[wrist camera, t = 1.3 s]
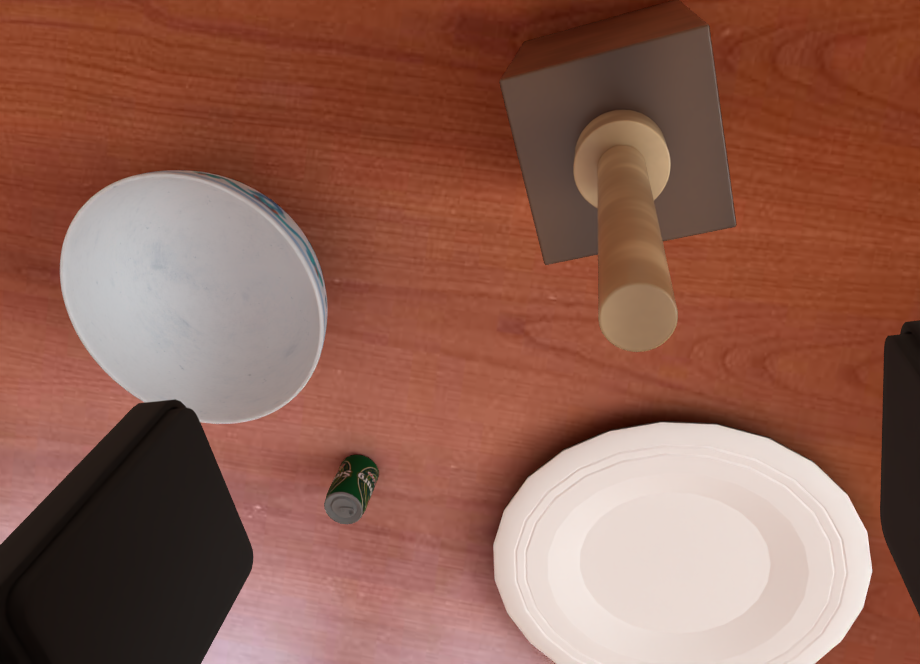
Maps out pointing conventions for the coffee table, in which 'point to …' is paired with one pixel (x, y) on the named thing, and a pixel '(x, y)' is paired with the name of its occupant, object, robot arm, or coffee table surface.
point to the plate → (681, 551)
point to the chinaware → (195, 293)
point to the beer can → (351, 489)
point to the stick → (628, 226)
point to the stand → (619, 88)
